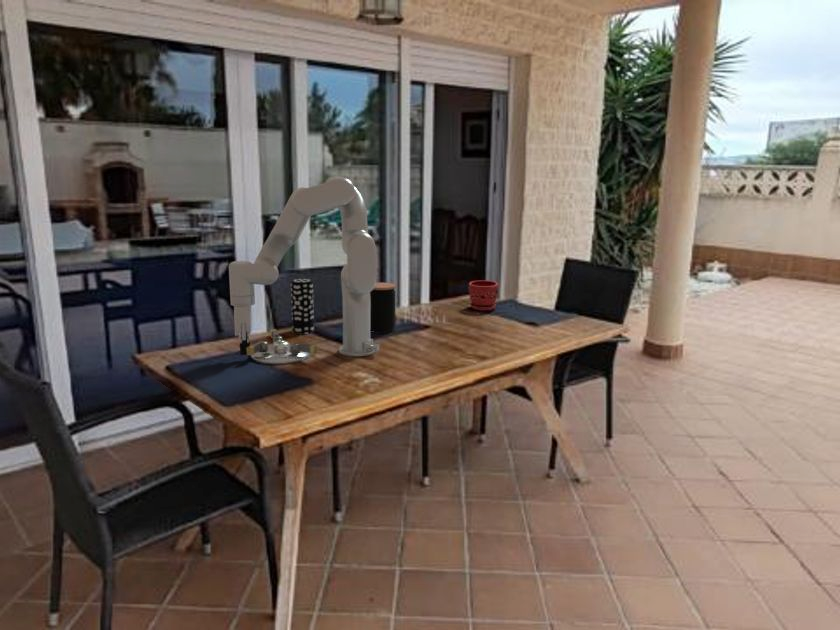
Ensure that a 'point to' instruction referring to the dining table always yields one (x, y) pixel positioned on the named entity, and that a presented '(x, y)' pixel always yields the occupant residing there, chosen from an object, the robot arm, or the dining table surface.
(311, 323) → the spotted tube
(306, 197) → the robot arm
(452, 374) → the dining table surface
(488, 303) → the plant pot
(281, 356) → the tribrach plate
